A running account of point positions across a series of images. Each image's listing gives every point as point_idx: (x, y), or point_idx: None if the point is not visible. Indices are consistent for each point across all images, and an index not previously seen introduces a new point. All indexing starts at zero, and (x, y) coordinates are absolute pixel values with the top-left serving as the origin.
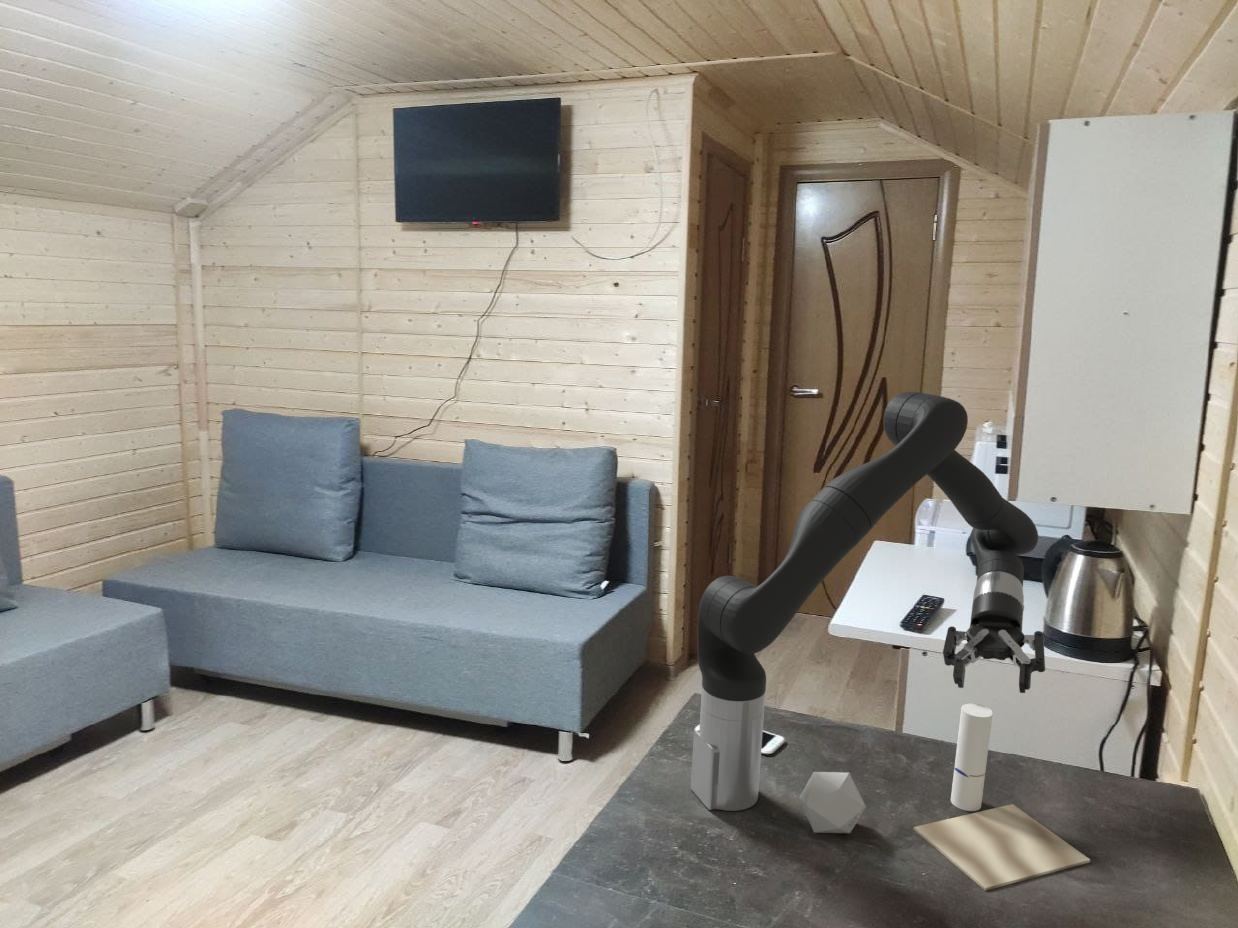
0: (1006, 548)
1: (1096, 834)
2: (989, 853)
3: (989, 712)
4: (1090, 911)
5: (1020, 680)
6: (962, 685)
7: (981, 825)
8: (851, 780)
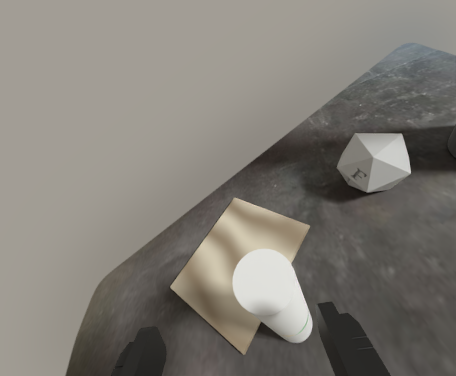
0: None
1: None
2: (241, 236)
3: (239, 286)
4: (176, 226)
5: (145, 335)
6: (317, 319)
7: None
8: (363, 156)
